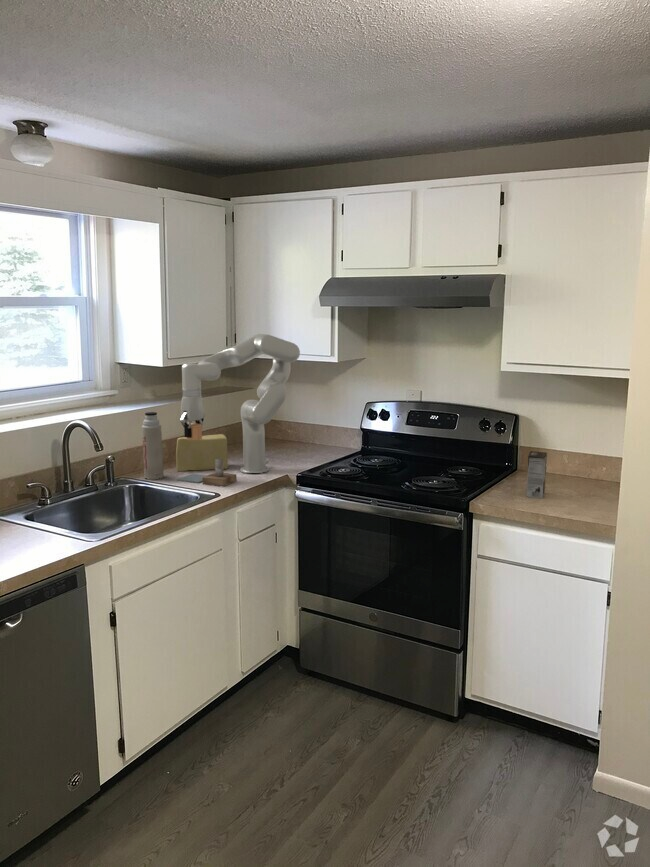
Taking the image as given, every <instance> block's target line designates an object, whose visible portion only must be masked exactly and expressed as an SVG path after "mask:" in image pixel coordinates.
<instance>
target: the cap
mask: <svg viewBox="0 0 650 867" xmlns="http://www.w3.org/2000/svg"><path fill="white" fill-rule="evenodd" d="M190 428H191V432H192V437H191V438H187V437H186V439H187V440H199V439H202V436H203V426H202V427H201V424H199V423H195V422H191V426H190Z"/></svg>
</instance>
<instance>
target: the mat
mask: <svg viewBox="0 0 650 867" xmlns="http://www.w3.org/2000/svg"><path fill="white" fill-rule="evenodd" d="M207 475H208V474H199V473H190V474H187V475H185V476H182V477H179V478H177V479H176V481H177V480H180V481H179V482H184V481H186V482H185V483H192V482H193V484H201V483H203V480H202V477H204V476H207Z"/></svg>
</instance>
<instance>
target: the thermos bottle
mask: <svg viewBox="0 0 650 867" xmlns="http://www.w3.org/2000/svg"><path fill="white" fill-rule="evenodd" d="M144 415H145V416H144V418H145V419H144V420H143V422H142V425H141V436H142V456H143V472H144V473H143V474H144V475H143V477H144V479H145V478H147V479H146V480H159V478H160V479H163V478H164V475H165V473H164V460H163V437H162V436H163V435H162V425H161V424H160V423H161V422H160V419H158V413H157V412H156V411H148V412H145V413H144Z"/></svg>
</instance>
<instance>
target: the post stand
mask: <svg viewBox="0 0 650 867" xmlns="http://www.w3.org/2000/svg"><path fill="white" fill-rule="evenodd" d="M214 471H215V472H213V473H209V474H206V475H207V476H204V477H202V480H203V482H202V485H204V484H205V485H206V486H212V485H214V487H220V486H224V487H226V486H229V485H231V484H233V483H232V482H234V483H235V481H236V482H237V478H238V476H237V474H236V473H230V472H229V473H228V472H224V469H223V459H222V458H217V459H215V469H214ZM230 483H231V484H230ZM228 484H229V485H228ZM225 485H226V486H225Z"/></svg>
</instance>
